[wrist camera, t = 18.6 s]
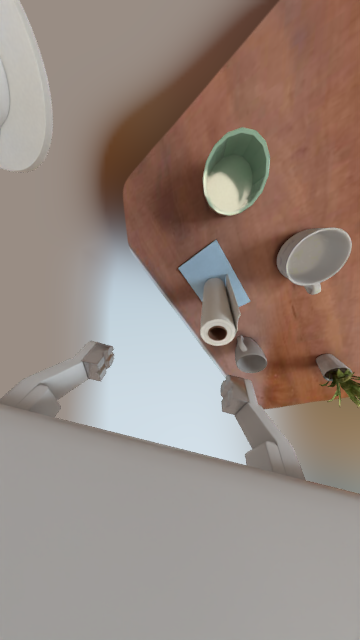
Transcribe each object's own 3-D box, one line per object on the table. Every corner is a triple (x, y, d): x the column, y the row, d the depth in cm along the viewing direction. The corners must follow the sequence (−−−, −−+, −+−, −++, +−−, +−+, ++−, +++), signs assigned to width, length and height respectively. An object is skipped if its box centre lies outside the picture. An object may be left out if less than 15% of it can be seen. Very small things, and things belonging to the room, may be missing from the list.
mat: (178, 267, 42) (178, 268, 42) (216, 239, 37) (216, 239, 36) (214, 317, 49) (214, 318, 49) (250, 300, 44) (250, 301, 44)
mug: (262, 346, 53) (271, 369, 45) (238, 354, 57) (243, 375, 49) (249, 322, 48) (256, 342, 40) (224, 332, 52) (226, 352, 44)
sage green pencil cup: (199, 210, 34) (196, 208, 27) (213, 146, 28) (214, 121, 21) (241, 220, 34) (250, 220, 26) (264, 157, 28) (284, 136, 21)
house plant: (368, 351, 47) (431, 403, 34) (333, 376, 55) (372, 426, 42) (325, 339, 47) (370, 386, 34) (296, 365, 55) (323, 412, 42)
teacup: (273, 234, 34) (288, 238, 28) (331, 218, 31) (363, 218, 25) (271, 289, 41) (282, 303, 35) (318, 281, 38) (340, 294, 32)
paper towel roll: (206, 298, 45) (204, 348, 28) (201, 280, 42) (196, 323, 25) (230, 293, 43) (245, 343, 26) (227, 273, 40) (241, 315, 23)
